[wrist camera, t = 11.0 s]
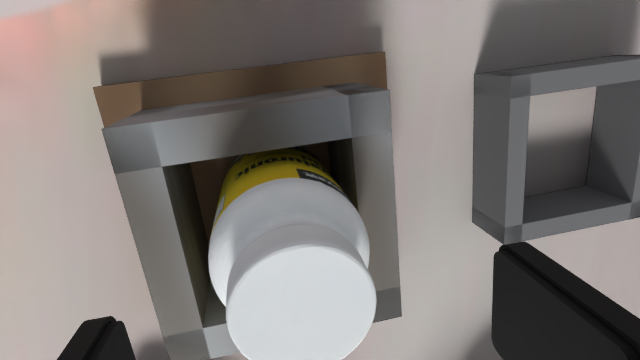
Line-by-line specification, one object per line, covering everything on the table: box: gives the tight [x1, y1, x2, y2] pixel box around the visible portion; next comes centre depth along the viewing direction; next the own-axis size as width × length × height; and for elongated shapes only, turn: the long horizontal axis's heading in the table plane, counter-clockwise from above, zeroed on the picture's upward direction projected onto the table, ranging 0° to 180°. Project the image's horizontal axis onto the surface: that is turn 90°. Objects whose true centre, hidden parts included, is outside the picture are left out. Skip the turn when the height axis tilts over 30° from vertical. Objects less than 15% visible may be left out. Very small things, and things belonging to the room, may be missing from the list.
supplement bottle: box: [208, 146, 377, 360], centre depth 15 cm, size 5×5×10 cm
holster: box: [472, 55, 640, 245], centre depth 21 cm, size 9×9×3 cm
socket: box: [93, 52, 402, 360], centre depth 17 cm, size 13×12×6 cm
